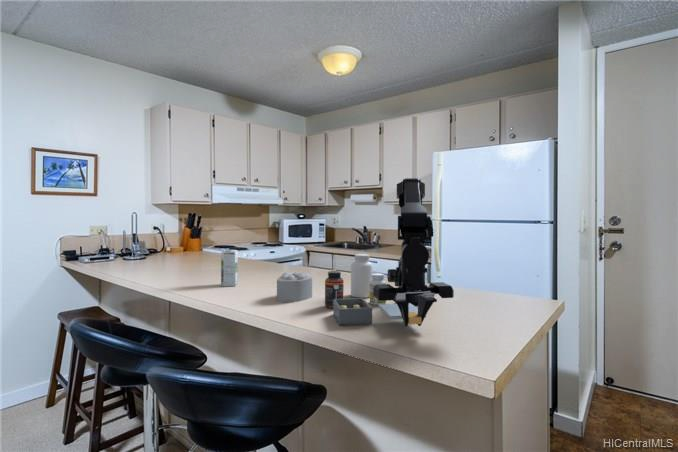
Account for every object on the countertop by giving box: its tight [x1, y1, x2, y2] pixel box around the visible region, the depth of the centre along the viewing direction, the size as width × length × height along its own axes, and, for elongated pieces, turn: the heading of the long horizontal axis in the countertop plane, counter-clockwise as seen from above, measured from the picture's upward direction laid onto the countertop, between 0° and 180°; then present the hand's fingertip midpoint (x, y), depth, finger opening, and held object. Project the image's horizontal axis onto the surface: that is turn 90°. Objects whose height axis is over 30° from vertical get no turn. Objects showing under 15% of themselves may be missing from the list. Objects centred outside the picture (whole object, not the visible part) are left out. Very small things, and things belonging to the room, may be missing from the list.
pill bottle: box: [350, 253, 374, 299], centre depth 129 cm, size 8×8×15 cm
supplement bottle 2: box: [369, 272, 387, 306], centre depth 119 cm, size 5×5×10 cm
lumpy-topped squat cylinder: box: [276, 271, 313, 303], centre depth 126 cm, size 10×13×9 cm
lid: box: [378, 303, 427, 325], centre depth 93 cm, size 9×16×2 cm, turn 9°
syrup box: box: [220, 249, 239, 287], centre depth 147 cm, size 6×6×14 cm
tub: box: [332, 297, 373, 327], centre depth 101 cm, size 9×11×4 cm
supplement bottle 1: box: [324, 270, 344, 309], centre depth 114 cm, size 6×6×11 cm
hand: (412, 325), depth 87 cm, fingers closed on lid, 3 cm apart
